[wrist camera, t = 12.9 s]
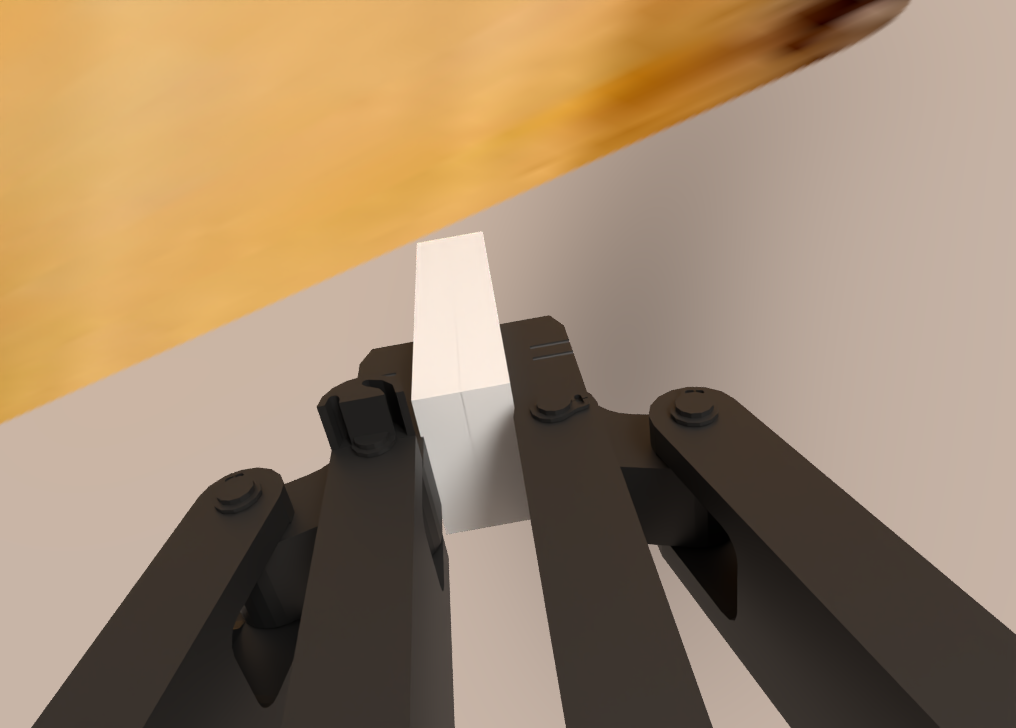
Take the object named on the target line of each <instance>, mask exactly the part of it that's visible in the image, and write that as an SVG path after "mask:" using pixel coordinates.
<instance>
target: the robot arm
mask: <svg viewBox="0 0 1016 728" xmlns="http://www.w3.org/2000/svg"><path fill="white" fill-rule="evenodd" d="M414 314H415V315H414V340H413V342H410V343H404V344H399V345H393V346H387V347H382V348H376V349H372V350H371V351H370V353H369V354H368V355H367V356H366V358H365V359H364V360H363V361H362V362H361V364H360V367H359V373H358V378H356V379H352V380H349V381H346V382H344V383H342V384H340V385H338V386H336V387H334V388H332V389H331V390H330V391H329V392H328V393H327V394H325V395H324V396H323V397H322V398H321V400H320V402H319V404H318V405H317V409H318V412H319V415H320V418H321V421H322V424H323V427H324V429H325V432H326V435H327V438H328V441H329V444H330V447H331V449H332V452H331V458H330V463H329V464H328V465H326V466H324V467H323V468H322V469H320V470H318V471H316V472H313V473H311V474H309V475H307V476H304V477H302V478H299V479H297V480H294V481H292V482H289V483H287V484H284V482H283V480H282V477H281V475H280V474H278V473H276V472H275V471H273V470H272V469H265V468H252V469H245V470H241V471H238V472H235V473H231V474H229V475H227V476H225V477H223V478H222V479H220V480H218V481H217V482H215V483H214V484H212V485H210V486H209V487H208V488H207V489H206V490H205V491H204V492H203V493H202V494H201V495H200V496H199V497H198V499H197V500H196V502H195V503H194V504H193V506H192V507H191V508H190V510H189V511H188V512H187V514H186V515H185V517H184V518H183V519H182V521H181V522H180V523H179V525H178V526H177V528H176V529H175V530H174V532H173V533H172V534H171V536H170V537H169V539H168V540H167V542H166V543H165V544H164V545H163V547H162V548H161V550H160V551H159V552H158V554H157V555H156V557H155V558H154V559H153V561H152V562H151V563H150V565H149V566H148V568H147V569H146V570H145V572H144V573H143V574H142V576H141V577H140V579H139V580H138V581H137V583H136V584H135V586H134V587H133V588H132V590H131V591H130V592H129V594H128V595H127V596H126V598H125V599H124V601H123V602H122V603H121V605H120V606H119V608H118V609H117V610H116V612H115V613H114V615H113V616H112V617H111V619H110V620H109V621H108V623H107V624H106V625H105V627H104V628H103V630H102V631H101V632H100V634H99V635H98V636H97V638H96V639H95V641H94V642H93V644H92V645H91V646H90V647H89V649H88V650H87V652H86V653H85V654H84V656H83V657H82V659H81V660H80V661H79V663H78V664H77V666H76V667H75V668H74V670H73V671H72V672H71V674H70V675H69V676H68V678H67V679H66V681H65V682H64V683H63V685H62V686H61V687H60V689H59V690H58V692H57V693H56V694H55V696H54V697H53V699H52V700H51V701H50V703H49V704H48V705H47V707H46V708H45V710H44V711H43V712H42V714H41V715H40V717H39V718H38V719H37V721H36V722H35V723H34V725H33V726H32V727H31V728H455V726H454V699H453V698H454V697H453V669H452V642H451V614H450V587H449V558H448V554H447V550H446V546H445V542H444V539H443V535H442V519H443V522H444V526H445V530H446V534H452V533H457V532H463V531H468V530H474V529H480V528H485V527H491V526H496V525H502V524H507V523H513V522H518V521H524V520H530V519H531V525H532V530H533V536H534V542H535V548H536V554H537V560H538V566H539V572H540V577H541V583H542V589H543V595H544V601H545V607H546V613H547V618H548V623H549V630H550V636H551V642H552V647H553V654H554V659H555V665H556V671H557V677H558V683H559V689H560V694H561V701H562V707H563V712H564V718H565V724H566V728H713V727H712V724H711V722H710V719H709V716H708V713H707V710H706V708H705V705H704V702H703V699H702V696H701V693H700V690H699V688H698V685H697V682H696V679H695V676H694V673H693V671H692V668H691V665H690V662H689V659H688V657H687V654H686V651H685V648H684V646H683V643H682V640H681V637H680V634H679V631H678V629H677V626H676V623H675V620H674V617H673V615H672V612H671V609H670V606H669V603H668V600H667V598H666V595H665V592H664V589H663V586H662V584H661V581H660V578H659V575H658V572H657V569H656V567H655V564H654V561H653V558H652V556H651V553H650V550H649V547H648V544H654V545H658V547H659V550H660V552H661V554H662V556H663V558H664V559H665V560H666V562H667V563H668V564H669V566H670V567H671V568H672V570H673V571H674V572H675V574H676V575H677V576H678V578H679V579H680V580H681V582H682V583H683V584H684V586H685V587H686V588H687V590H688V591H689V592H690V594H691V595H692V596H693V598H694V599H695V600H696V602H697V603H698V604H699V606H700V607H701V608H702V610H703V611H704V612H705V614H706V615H707V616H708V618H709V619H710V620H711V622H712V623H713V624H714V626H715V627H716V628H717V630H718V631H719V632H720V634H721V635H722V636H723V638H724V639H725V640H726V642H727V643H728V644H729V646H730V647H731V648H732V650H733V651H734V652H735V654H736V655H737V656H738V658H739V659H740V660H741V662H742V663H743V664H744V665H745V667H746V668H747V670H748V671H749V672H750V674H751V675H752V676H753V678H754V679H755V680H756V682H757V683H758V684H759V686H760V687H761V688H762V690H763V691H764V692H765V694H766V695H767V696H768V698H769V699H770V700H771V702H772V703H773V704H774V706H775V707H776V708H777V710H778V711H779V712H780V714H781V715H782V716H783V718H784V719H785V720H786V722H787V723H788V724H789V726H790V727H791V728H1016V634H1014V633H1013V632H1012V631H1011V630H1009V628H1007V627H1006V626H1005V625H1004V624H1003V623H1002V622H1000V621H999V620H998V619H996V617H994V616H993V615H992V614H991V613H990V612H988V611H987V610H986V609H985V608H983V607H982V606H981V605H980V604H979V603H978V602H976V601H975V600H974V599H973V598H972V597H970V596H969V595H968V594H967V593H966V592H964V591H963V590H962V589H961V588H960V587H959V586H957V585H956V584H955V583H954V582H953V581H951V580H950V579H949V578H948V577H947V576H945V575H944V574H943V573H942V572H940V571H939V570H938V569H937V568H936V567H934V566H933V565H932V564H931V563H930V562H929V561H927V560H926V559H925V558H924V557H922V556H921V555H920V554H919V553H918V552H916V551H915V550H914V549H913V548H912V547H911V546H910V545H908V544H907V543H906V542H904V541H903V540H902V539H901V538H900V537H898V535H896V534H895V533H894V532H893V531H892V530H890V529H889V528H888V527H887V526H886V525H884V524H883V523H882V522H881V521H880V520H878V519H877V518H876V517H875V516H873V515H872V514H871V513H870V512H869V511H868V510H866V509H865V508H864V507H863V506H862V505H860V504H859V503H858V502H857V501H855V499H853V498H852V497H851V496H850V495H849V494H847V493H846V492H845V491H844V490H843V489H841V488H840V487H839V486H838V485H837V484H835V483H834V482H833V481H832V480H831V479H829V478H828V477H827V476H826V475H825V474H823V473H822V472H821V471H820V470H819V469H817V468H816V467H815V466H814V465H813V464H812V463H810V462H809V461H808V460H807V459H805V458H804V457H803V456H802V455H801V454H800V453H798V452H797V451H796V450H795V449H794V448H792V447H791V446H790V445H789V444H788V443H786V442H785V441H784V440H783V439H782V438H780V437H779V436H778V435H777V434H776V433H775V432H773V431H772V430H771V429H770V428H769V427H767V426H766V425H765V424H764V423H763V422H761V421H760V420H759V419H757V417H755V416H754V415H753V414H752V413H751V412H749V411H748V410H747V409H746V408H745V407H743V406H742V405H741V404H740V403H739V402H737V401H736V400H735V399H734V398H732V397H730V396H729V395H727V394H725V393H723V392H722V391H718V390H714V389H709V388H706V387H686V388H681V389H676V390H671V391H669V392H667V393H665V394H663V395H661V396H659V397H658V398H657V399H656V400H655V401H654V402H653V404H652V405H651V406H650V411H649V415H640V414H624V413H617V412H613V411H609V410H607V409H604V408H602V407H600V406H598V403H597V401H596V400H595V399H594V398H593V397H592V395H591V394H590V393H588V392H587V391H586V388H585V385H584V382H583V379H582V376H581V373H580V371H579V368H578V365H577V362H576V359H575V356H574V353H573V350H572V347H571V345H570V342H569V339H568V336H567V333H566V330H565V327H564V325H562V324H561V323H559V322H558V321H557V320H555V319H554V318H552V317H551V316H543V317H538V318H532V319H527V320H521V321H516V322H510V323H504V324H499V320H498V314H497V309H496V304H495V298H494V292H493V287H492V281H491V276H490V270H489V265H488V259H487V254H486V249H485V243H484V238H483V232H482V231H481V232H476V233H471V234H464V235H459V236H453V237H448V238H443V239H437V240H431V241H426V242H420V243H417V261H416V287H415V313H414Z"/></svg>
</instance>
